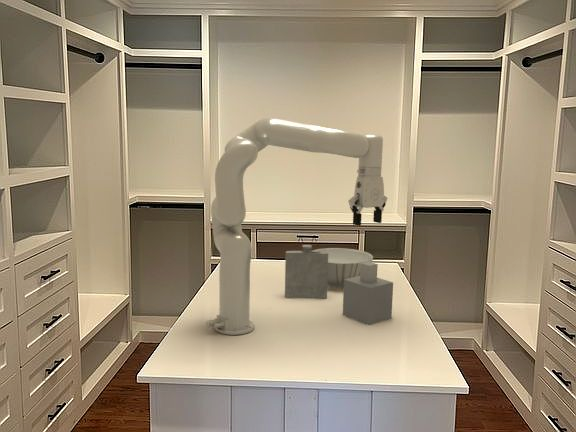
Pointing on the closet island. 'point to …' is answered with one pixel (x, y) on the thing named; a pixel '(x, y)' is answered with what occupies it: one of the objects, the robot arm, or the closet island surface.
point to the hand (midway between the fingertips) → (367, 223)
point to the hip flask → (306, 273)
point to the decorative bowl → (344, 264)
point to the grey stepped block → (368, 296)
